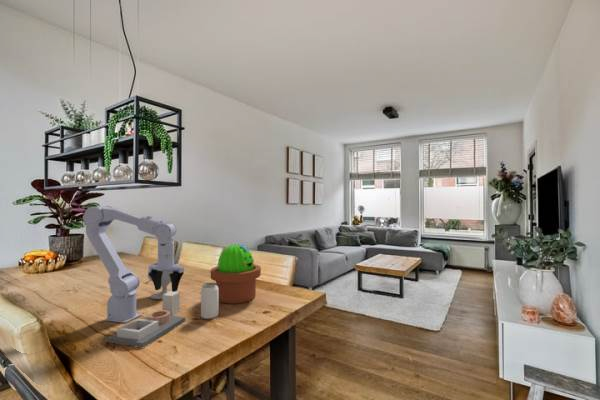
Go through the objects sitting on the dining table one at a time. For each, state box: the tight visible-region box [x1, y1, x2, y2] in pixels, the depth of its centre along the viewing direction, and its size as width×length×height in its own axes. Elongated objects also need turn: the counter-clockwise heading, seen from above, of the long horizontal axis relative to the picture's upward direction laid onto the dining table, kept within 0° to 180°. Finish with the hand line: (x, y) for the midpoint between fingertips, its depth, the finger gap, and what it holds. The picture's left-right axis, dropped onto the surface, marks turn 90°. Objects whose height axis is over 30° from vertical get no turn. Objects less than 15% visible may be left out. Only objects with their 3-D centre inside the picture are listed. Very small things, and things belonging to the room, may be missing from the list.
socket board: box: [105, 309, 186, 348], centre depth 100 cm, size 14×20×4 cm
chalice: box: [147, 261, 180, 300], centre depth 137 cm, size 14×14×15 cm
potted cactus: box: [210, 243, 262, 305], centre depth 134 cm, size 22×22×25 cm
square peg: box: [162, 291, 181, 316], centre depth 115 cm, size 4×4×8 cm
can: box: [200, 282, 219, 320], centre depth 113 cm, size 6×6×12 cm
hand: (166, 290), depth 111 cm, fingers open, 7 cm apart
